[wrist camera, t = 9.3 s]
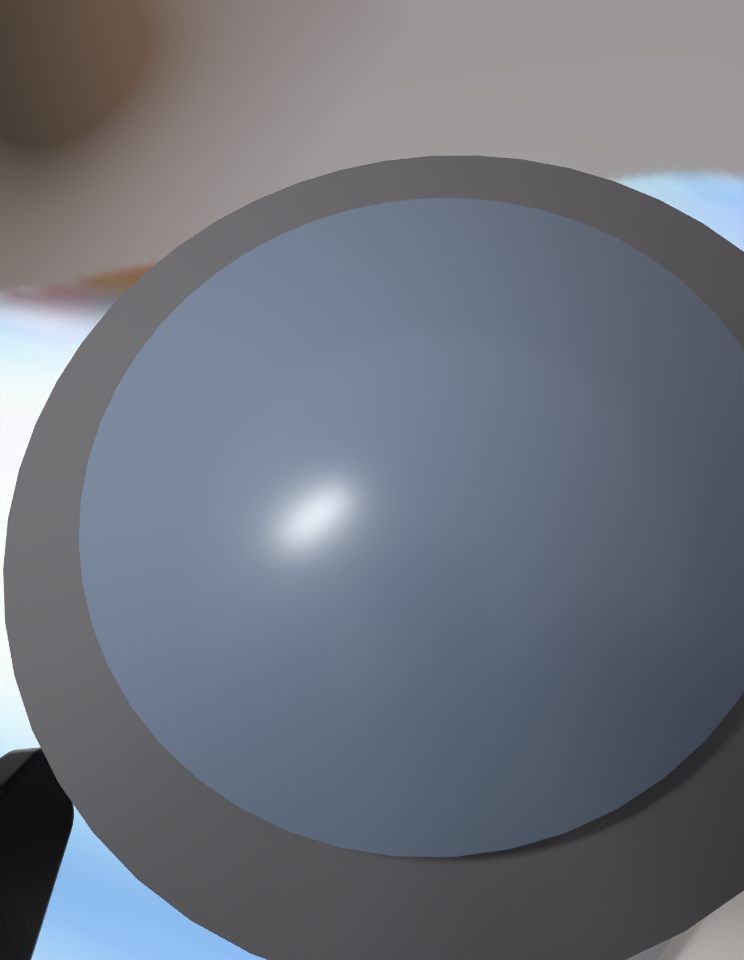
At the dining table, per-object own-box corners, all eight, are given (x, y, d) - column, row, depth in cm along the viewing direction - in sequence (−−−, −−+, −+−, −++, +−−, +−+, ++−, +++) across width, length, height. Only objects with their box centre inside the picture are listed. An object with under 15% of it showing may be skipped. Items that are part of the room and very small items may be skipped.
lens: (637, 773, 16) (1235, 667, 3) (407, 901, 16) (118, 1322, 3) (503, 556, 19) (564, 26, 6) (302, 661, 18) (-101, 335, 6)
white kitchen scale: (881, 772, 17) (1039, 761, 12) (591, 1214, 14) (649, 1415, 9) (377, 397, 22) (352, 292, 18) (111, 664, 20) (2, 624, 15)
